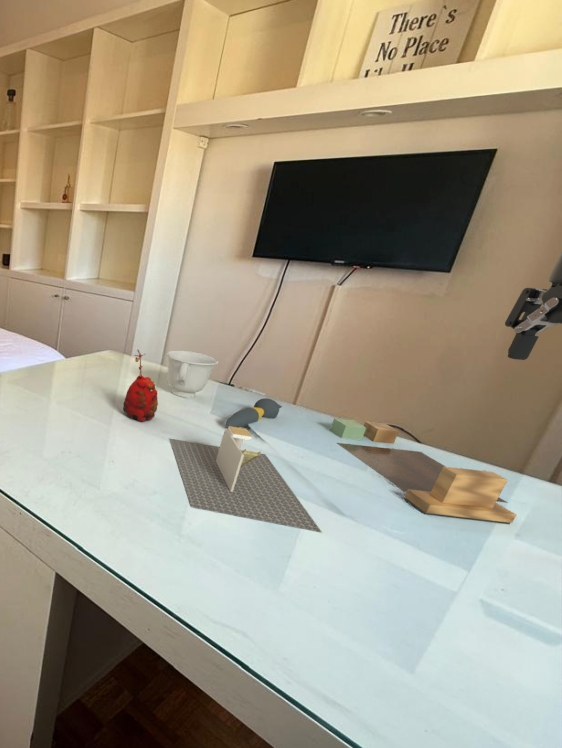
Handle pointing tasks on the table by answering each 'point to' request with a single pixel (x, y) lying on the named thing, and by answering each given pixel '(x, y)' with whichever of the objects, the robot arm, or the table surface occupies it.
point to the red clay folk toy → (141, 397)
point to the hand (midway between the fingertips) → (545, 366)
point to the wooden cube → (380, 432)
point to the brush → (463, 496)
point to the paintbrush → (254, 413)
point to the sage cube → (347, 429)
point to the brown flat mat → (400, 466)
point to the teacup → (188, 372)
